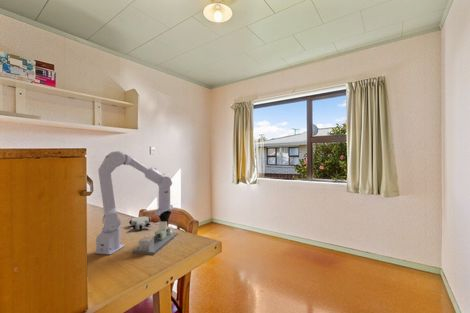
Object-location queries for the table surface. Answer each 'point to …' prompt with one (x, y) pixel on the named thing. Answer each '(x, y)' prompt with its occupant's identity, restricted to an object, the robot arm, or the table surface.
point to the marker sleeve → (161, 229)
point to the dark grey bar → (158, 236)
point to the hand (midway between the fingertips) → (164, 226)
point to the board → (159, 243)
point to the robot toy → (140, 222)
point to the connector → (146, 244)
